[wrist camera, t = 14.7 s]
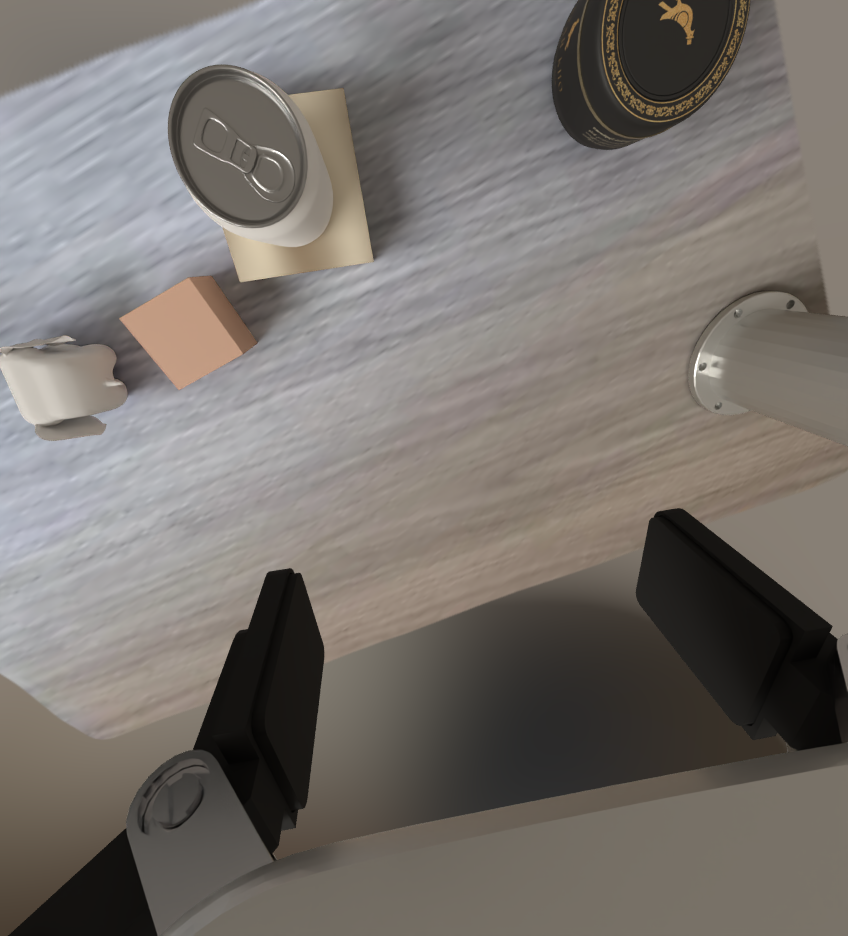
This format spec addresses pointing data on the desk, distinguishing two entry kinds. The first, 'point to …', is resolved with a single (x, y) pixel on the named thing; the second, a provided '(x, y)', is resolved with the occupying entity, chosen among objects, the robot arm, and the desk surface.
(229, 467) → the desk surface
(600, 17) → the jar
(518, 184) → the desk surface
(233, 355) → the terracotta block
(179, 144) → the can
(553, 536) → the desk surface
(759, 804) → the robot arm
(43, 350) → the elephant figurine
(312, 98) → the birch block
